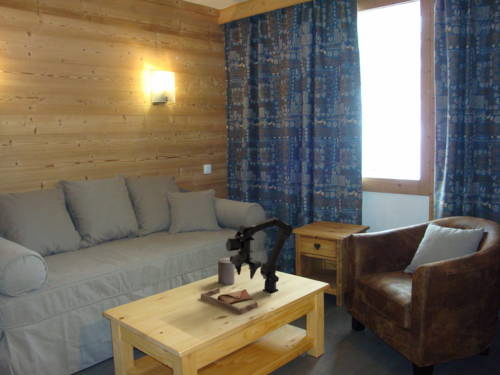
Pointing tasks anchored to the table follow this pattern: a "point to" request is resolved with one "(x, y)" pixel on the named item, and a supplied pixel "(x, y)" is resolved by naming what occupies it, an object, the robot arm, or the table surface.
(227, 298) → the sunglasses case
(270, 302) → the table surface
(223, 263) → the pillar candle
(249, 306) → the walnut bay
